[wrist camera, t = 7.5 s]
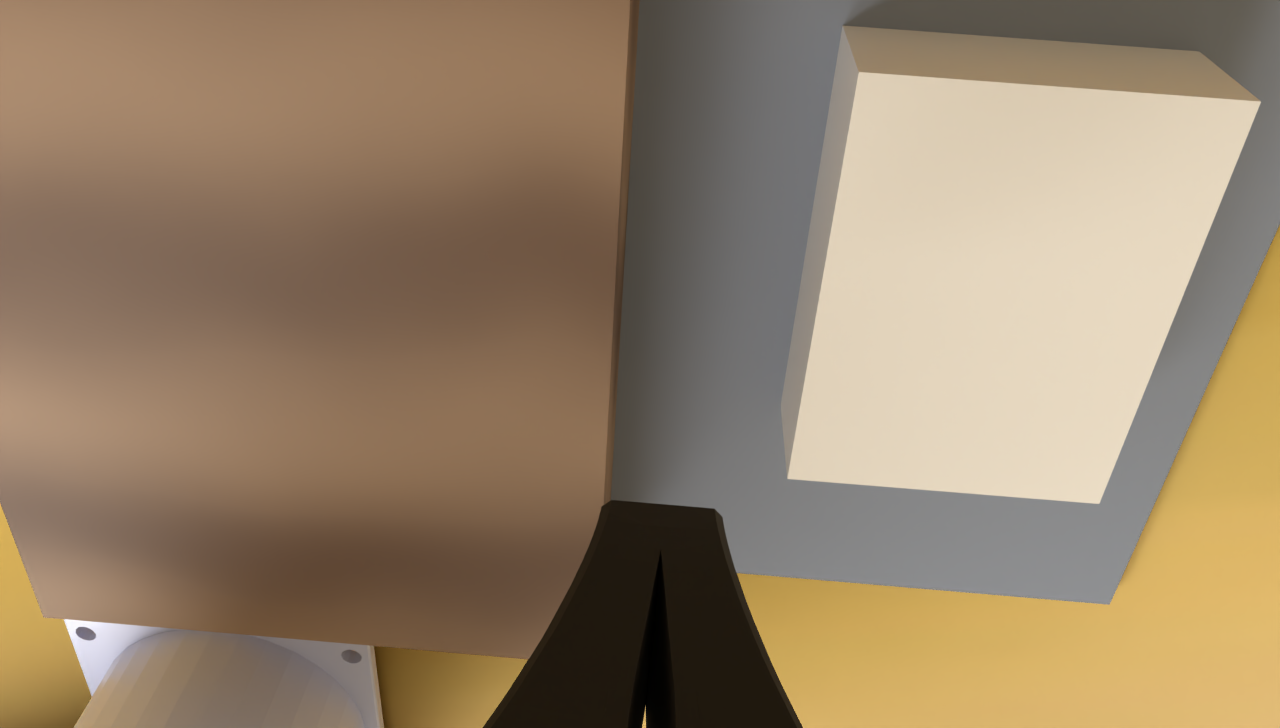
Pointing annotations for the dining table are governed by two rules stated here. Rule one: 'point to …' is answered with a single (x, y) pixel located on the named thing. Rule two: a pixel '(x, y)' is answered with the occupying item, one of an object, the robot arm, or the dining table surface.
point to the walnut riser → (312, 310)
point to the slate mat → (771, 275)
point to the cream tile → (998, 256)
